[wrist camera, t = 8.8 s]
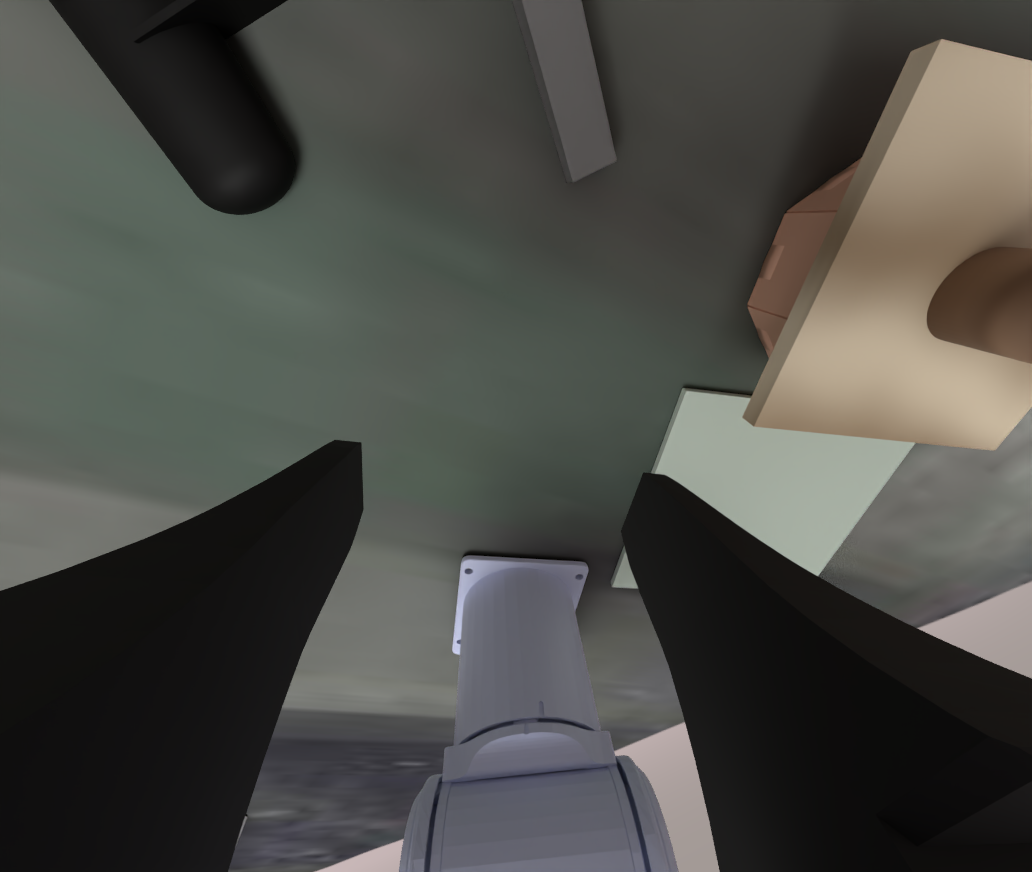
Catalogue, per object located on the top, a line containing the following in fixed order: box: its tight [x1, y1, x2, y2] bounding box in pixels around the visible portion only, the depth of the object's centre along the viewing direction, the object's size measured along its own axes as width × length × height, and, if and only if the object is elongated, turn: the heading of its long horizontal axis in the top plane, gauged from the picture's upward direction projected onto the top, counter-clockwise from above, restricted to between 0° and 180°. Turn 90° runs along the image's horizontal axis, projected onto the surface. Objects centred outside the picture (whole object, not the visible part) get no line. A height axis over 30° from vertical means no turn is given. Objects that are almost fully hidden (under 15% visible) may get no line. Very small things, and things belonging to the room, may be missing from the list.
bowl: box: [747, 158, 861, 358], centre depth 15 cm, size 9×9×4 cm
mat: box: [610, 388, 915, 588], centre depth 23 cm, size 14×14×1 cm
